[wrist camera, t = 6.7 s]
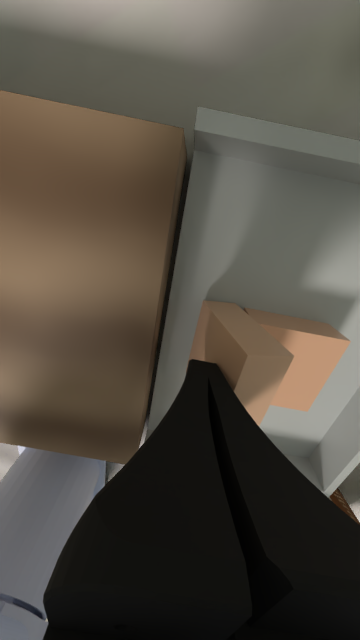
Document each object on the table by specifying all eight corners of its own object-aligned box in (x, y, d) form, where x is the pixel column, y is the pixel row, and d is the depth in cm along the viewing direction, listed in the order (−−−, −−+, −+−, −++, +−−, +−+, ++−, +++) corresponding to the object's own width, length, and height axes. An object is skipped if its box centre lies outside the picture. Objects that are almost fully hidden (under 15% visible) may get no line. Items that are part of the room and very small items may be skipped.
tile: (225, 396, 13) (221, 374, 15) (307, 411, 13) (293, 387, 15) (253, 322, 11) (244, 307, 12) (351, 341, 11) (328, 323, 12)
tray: (308, 456, 18) (328, 497, 16) (147, 427, 18) (139, 464, 15) (491, 198, 10) (602, 191, 7) (197, 137, 10) (197, 106, 7)
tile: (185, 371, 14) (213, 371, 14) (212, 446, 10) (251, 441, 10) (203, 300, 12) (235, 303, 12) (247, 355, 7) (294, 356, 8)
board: (145, 420, 18) (134, 466, 15) (0, 394, 18) (-44, 434, 14) (187, 157, 10) (183, 128, 7) (-72, 104, 10) (-204, 47, 7)
